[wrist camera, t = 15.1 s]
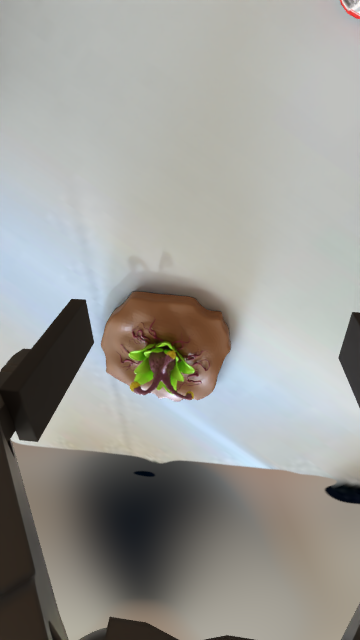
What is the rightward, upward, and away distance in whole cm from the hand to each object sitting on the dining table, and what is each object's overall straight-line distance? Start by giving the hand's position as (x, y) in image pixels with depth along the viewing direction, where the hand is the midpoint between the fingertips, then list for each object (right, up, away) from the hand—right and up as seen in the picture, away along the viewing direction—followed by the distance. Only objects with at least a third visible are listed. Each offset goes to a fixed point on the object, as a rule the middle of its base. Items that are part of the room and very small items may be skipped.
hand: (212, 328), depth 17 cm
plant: (-4, -3, +37) cm, 38 cm away
